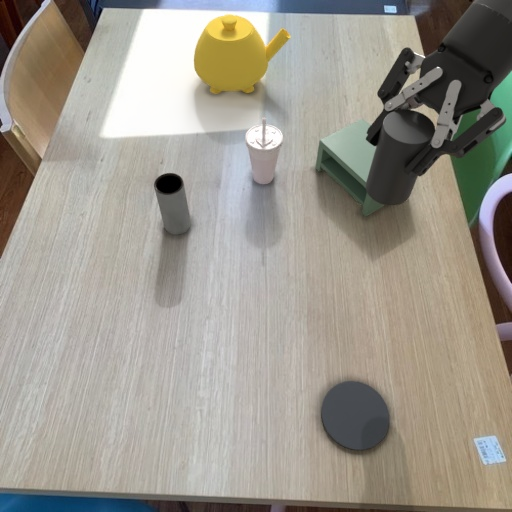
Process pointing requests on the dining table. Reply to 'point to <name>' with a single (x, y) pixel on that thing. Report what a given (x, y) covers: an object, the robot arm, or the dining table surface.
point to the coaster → (355, 415)
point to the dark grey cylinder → (397, 155)
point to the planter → (172, 203)
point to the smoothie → (263, 150)
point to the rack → (349, 161)
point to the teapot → (234, 54)
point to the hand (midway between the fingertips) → (389, 158)
